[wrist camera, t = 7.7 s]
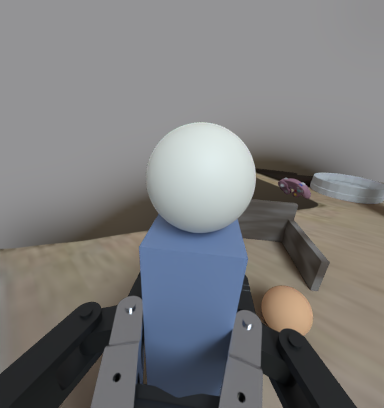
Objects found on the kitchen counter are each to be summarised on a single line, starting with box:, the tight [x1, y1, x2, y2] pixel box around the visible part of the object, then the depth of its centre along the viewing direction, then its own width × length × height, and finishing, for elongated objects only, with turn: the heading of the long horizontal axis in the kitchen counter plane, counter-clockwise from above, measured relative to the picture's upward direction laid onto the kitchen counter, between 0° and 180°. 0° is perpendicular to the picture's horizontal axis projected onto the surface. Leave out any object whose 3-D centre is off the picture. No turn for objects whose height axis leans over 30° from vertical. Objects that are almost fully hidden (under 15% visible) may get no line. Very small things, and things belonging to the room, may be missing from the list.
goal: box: [238, 199, 330, 291], centre depth 32 cm, size 13×14×8 cm
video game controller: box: [278, 178, 311, 199], centre depth 64 cm, size 10×5×7 cm, turn 32°
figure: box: [139, 122, 256, 398], centre depth 11 cm, size 4×4×20 cm
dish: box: [310, 173, 384, 204], centre depth 70 cm, size 22×22×5 cm
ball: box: [261, 286, 313, 336], centre depth 21 cm, size 5×5×5 cm
